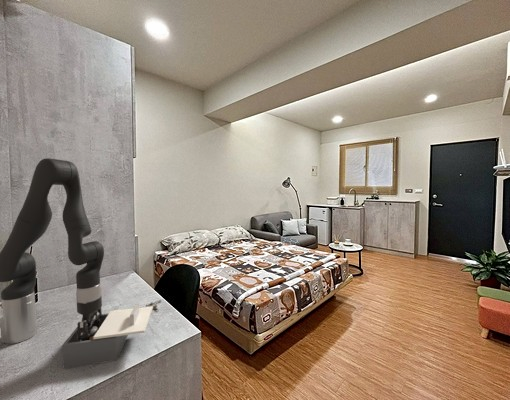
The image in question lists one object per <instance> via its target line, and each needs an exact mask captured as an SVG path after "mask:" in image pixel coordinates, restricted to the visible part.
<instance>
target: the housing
mask: <svg viewBox="0 0 510 400" xmlns="http://www.w3.org/2000/svg"><path fill="white" fill-rule="evenodd" d="M109 313H110V312H109ZM109 313H107V312H106V313H102V317H101V318H100V322H99V328H100V327H101V325H102V323H103V322H104V320H105V319H106V317H107V316H108V314H109ZM87 327H90V326H87ZM128 336H129V335H123V336H116V337H108V338H101V339H94V340H86V341H82V339H80V340H78V326H76V328H75V329H74V330H73V331H72V332H71V334H70V335H69V336H68V337H67V339H66V340H65V341H64V342H63V343H62V345H61V353H62V368H63V369H70V368H77V367H84V366H89V365H95V364H101V363H107V362H114V361H118V358H119V357H120V354H121V352H122V350H123V347H124V345H125V343H126V341H127V339H128Z"/></svg>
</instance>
